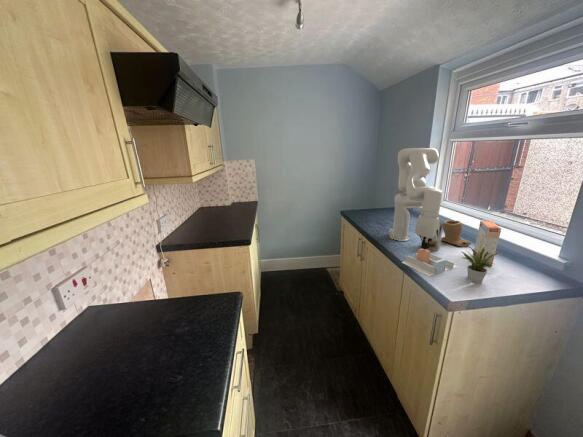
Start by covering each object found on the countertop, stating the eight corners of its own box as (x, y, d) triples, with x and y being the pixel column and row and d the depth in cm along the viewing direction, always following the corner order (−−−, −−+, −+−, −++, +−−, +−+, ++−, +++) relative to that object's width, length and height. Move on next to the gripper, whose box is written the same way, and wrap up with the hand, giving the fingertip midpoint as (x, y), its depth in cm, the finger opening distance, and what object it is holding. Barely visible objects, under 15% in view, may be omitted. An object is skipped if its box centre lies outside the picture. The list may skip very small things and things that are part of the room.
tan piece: (435, 240, 155) (439, 219, 151) (449, 238, 159) (453, 217, 155) (457, 249, 141) (461, 225, 137) (471, 246, 145) (476, 223, 141)
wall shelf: (401, 263, 124) (402, 251, 122) (428, 256, 133) (430, 244, 131) (428, 277, 110) (430, 264, 108) (457, 268, 119) (460, 255, 117)
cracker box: (492, 266, 119) (502, 228, 114) (478, 264, 122) (486, 226, 116) (485, 256, 131) (493, 220, 126) (472, 254, 134) (480, 219, 128)
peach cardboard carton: (416, 263, 122) (418, 249, 120) (421, 261, 124) (423, 248, 122) (422, 266, 119) (425, 252, 117) (428, 265, 120) (430, 250, 118)
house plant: (486, 274, 112) (493, 243, 108) (504, 290, 99) (513, 255, 95) (453, 271, 116) (459, 241, 111) (466, 286, 103) (473, 252, 98)
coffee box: (420, 249, 142) (423, 224, 138) (423, 246, 147) (426, 221, 142) (437, 253, 136) (441, 227, 132) (439, 249, 141) (443, 224, 136)
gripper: (411, 211, 119) (407, 244, 124) (439, 218, 106) (433, 255, 111) (421, 210, 122) (416, 242, 127) (450, 216, 109) (443, 252, 114)
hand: (424, 248), depth 119 cm, fingers closed
